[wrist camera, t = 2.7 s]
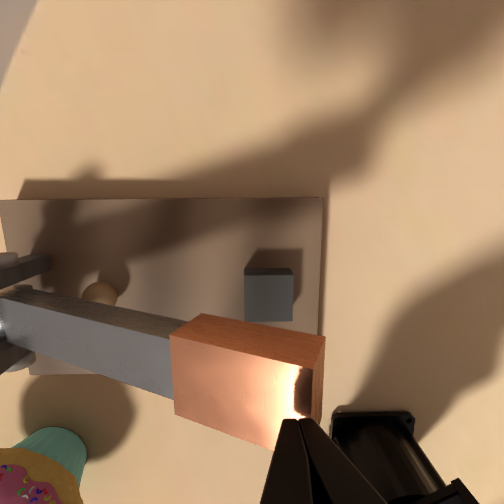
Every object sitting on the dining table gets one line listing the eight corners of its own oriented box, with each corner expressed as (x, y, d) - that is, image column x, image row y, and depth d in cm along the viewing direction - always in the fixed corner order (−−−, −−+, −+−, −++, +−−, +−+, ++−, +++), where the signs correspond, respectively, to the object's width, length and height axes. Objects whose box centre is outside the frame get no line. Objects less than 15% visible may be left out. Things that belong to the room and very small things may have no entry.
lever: (326, 334, 10) (311, 373, 8) (322, 413, 11) (307, 469, 9) (12, 275, 17) (-40, 287, 15) (21, 324, 18) (-27, 342, 16)
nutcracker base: (317, 197, 20) (352, 200, 13) (310, 357, 22) (337, 425, 16) (16, 199, 19) (-98, 203, 13) (44, 362, 22) (-40, 434, 15)
